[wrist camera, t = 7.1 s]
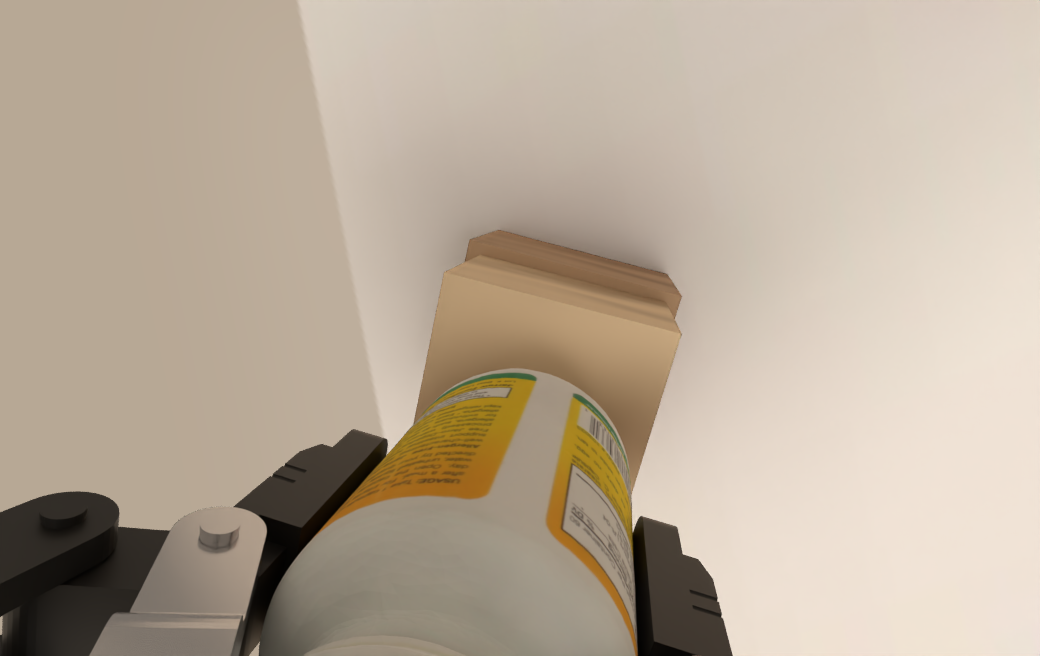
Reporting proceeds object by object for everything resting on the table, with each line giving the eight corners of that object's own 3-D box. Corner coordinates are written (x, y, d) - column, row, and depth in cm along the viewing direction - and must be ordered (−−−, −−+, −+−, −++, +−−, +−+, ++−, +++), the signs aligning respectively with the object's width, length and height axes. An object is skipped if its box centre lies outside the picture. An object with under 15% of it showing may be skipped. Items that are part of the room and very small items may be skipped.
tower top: (480, 254, 22) (444, 272, 17) (665, 301, 22) (681, 333, 17) (443, 424, 24) (401, 483, 19) (614, 472, 23) (615, 545, 18)
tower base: (499, 229, 28) (469, 239, 22) (667, 274, 27) (681, 296, 21) (462, 386, 30) (426, 432, 24) (618, 431, 29) (619, 489, 23)
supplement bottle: (666, 417, 14) (774, 865, 5) (575, 595, 15) (521, 1210, 6) (455, 326, 14) (164, 578, 5) (385, 509, 16) (56, 972, 6)
